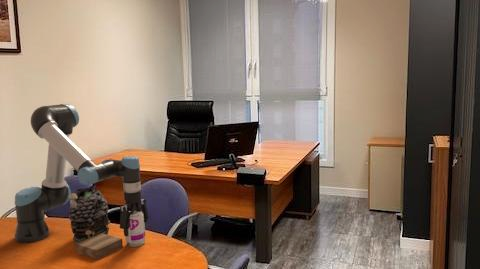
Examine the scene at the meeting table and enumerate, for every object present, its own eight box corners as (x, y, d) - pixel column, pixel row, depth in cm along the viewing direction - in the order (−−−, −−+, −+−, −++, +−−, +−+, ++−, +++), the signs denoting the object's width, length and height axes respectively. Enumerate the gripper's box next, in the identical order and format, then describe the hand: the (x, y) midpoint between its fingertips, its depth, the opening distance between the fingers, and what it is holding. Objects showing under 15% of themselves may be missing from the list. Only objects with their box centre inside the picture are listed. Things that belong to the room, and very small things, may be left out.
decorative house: (89, 247, 190) (84, 194, 187) (63, 243, 196) (58, 191, 192) (117, 231, 210) (114, 182, 206) (93, 227, 215) (89, 180, 211)
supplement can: (140, 247, 189) (138, 215, 186) (123, 246, 190) (121, 214, 188) (148, 240, 197) (146, 209, 194) (131, 239, 198) (129, 208, 196)
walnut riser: (76, 252, 185) (75, 243, 185) (102, 241, 197) (101, 233, 196) (97, 259, 178) (96, 250, 177) (122, 247, 190) (122, 238, 189)
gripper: (120, 197, 179) (123, 248, 182) (155, 186, 196) (157, 232, 200) (108, 195, 183) (111, 245, 186) (143, 184, 201) (146, 229, 204)
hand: (135, 238), depth 193 cm, fingers closed on supplement can, 8 cm apart
